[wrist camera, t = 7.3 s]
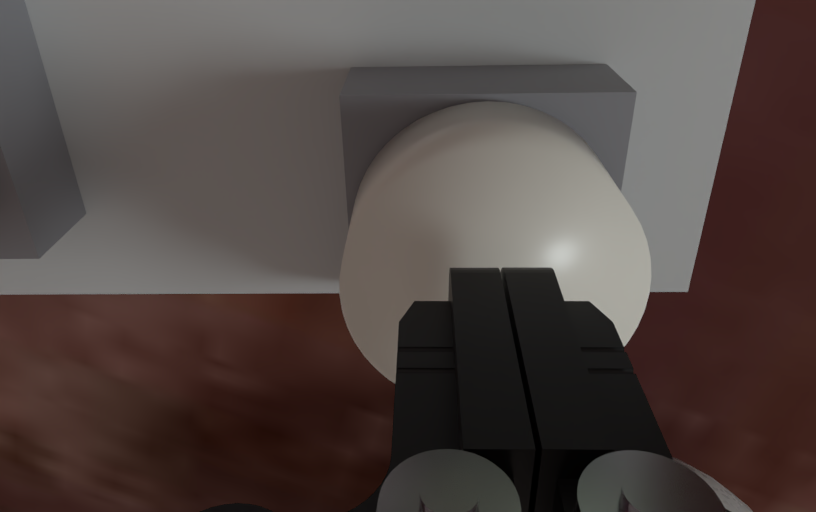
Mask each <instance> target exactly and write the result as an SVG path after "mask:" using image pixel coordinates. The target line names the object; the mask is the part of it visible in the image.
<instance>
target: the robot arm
mask: <svg viewBox="0 0 816 512" xmlns="http://www.w3.org/2000/svg"><path fill="white" fill-rule="evenodd" d="M397 348H398V350H397V364H396V382H395V400H394V418H393V436H392V453H391V461H390V466H389V469H388V472H387V475H386V476H385V478H384V480H383V482H382V483H381V485H380V486H379V487H378V489H377V490H376V491H375V492H374V493H373V494H372V495H371V496H370V497H369V498H368V499H367V500H366V501H364V502H363V503H361V504H360V505H358V506H357V507H355V508H354V509H352V510H350V511H348V512H731V511H729V510H727V509H725V507H724V505H723V504H722V502H721V500H720V499H719V497H718V496H717V494H716V493H715V492H714V490H713V489H712V488H711V487H710V486H709V485H708V484H707V483H706V482H705V481H704V480H703V479H702V478H701V477H700V476H698V475H697V474H696V473H695V472H693V471H692V470H690V469H689V468H687V467H686V466H684V465H682V464H680V463H678V462H676V461H674V460H673V458H672V456H671V454H670V451H669V449H668V447H667V445H666V442H665V440H664V438H663V435H662V433H661V431H660V428H659V426H658V424H657V422H656V419H655V417H654V415H653V412H652V410H651V408H650V406H649V403H648V401H647V399H646V396H645V394H644V392H643V390H642V387H641V385H640V383H639V380H638V378H637V376H636V374H633V367H632V364H631V362H630V360H629V358H628V355H627V353H626V352H624V346H623V344H622V341H621V339H620V337H619V335H618V332H617V330H616V328H615V325H614V323H613V322H612V321H611V320H610V319H609V318H608V317H607V316H605V315H604V314H603V313H602V312H601V311H600V310H599V309H598V308H597V307H595V306H594V305H593V304H592V303H591V302H590V301H564V298H563V295H562V293H561V290H560V287H559V284H558V281H557V278H556V275H555V272H554V270H553V268H551V267H503V268H502V269H501V272H500V270H499V268H450V269H449V293H448V301H414V302H413V304H412V305H411V306H410V308H409V309H408V310H407V312H406V313H405V314H404V316H403V317H402V318H401V320H400V321H399V329H398V347H397ZM200 512H272V511H271V510H268V509H266V508H263V507H261V506H256V505H252V504H240V503H235V504H224V505H220V506H216V507H211V508H209V509H206V510H203V511H200Z"/></svg>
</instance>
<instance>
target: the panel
mask: <svg viewBox="0 0 816 512" xmlns="http://www.w3.org/2000/svg"><path fill="white" fill-rule="evenodd" d="M754 5H755V0H0V294H245V293H339V277H340V271H341V264H342V258H343V254H344V249H345V244H346V240H347V235H348V231H349V226H350V221H351V217H352V212H353V208H354V203H355V199H356V196H357V192H358V189H359V186H360V183H361V181H362V179H363V177H364V175H365V173H366V170H367V169H368V167H369V166H370V164H371V163H372V161H373V160H374V158H375V157H376V155H377V154H378V153H379V152H380V151H381V149H382V148H383V147H384V146H385V145H386V144H387V143H388V142H389V141H390V140H391V139H392V138H393V137H394V136H396V135H397V134H398V133H399V132H400V131H401V130H403V129H404V128H406V127H407V126H409V125H410V124H412V123H413V122H415V121H416V120H418V119H420V118H423V117H425V116H427V115H429V114H431V113H433V112H436V111H438V110H441V109H444V108H447V107H450V106H455V105H460V104H465V103H471V102H484V101H493V102H508V103H513V104H519V105H524V106H527V107H530V108H533V109H536V110H539V111H542V112H544V113H546V114H548V115H550V116H552V117H554V118H557V119H558V120H560V121H561V122H563V123H564V124H566V125H567V126H569V127H570V128H572V129H573V130H574V131H575V132H576V133H577V134H578V135H579V136H580V137H582V138H583V139H584V140H585V141H586V143H587V144H588V145H589V146H590V148H591V149H592V150H593V151H594V152H595V154H596V155H597V157H598V158H599V160H600V161H601V163H602V164H603V166H604V167H605V169H606V170H607V172H608V173H609V175H610V176H611V178H612V179H613V181H614V182H615V184H616V185H617V187H618V188H619V190H620V191H621V193H622V194H623V196H624V197H625V199H626V200H627V202H628V203H629V205H630V206H631V208H632V210H633V211H634V213H635V215H636V217H637V218H638V220H639V222H640V224H641V226H642V229H643V231H644V234H645V236H646V239H647V242H648V247H649V252H650V257H651V284H650V292H688V288H689V284H690V280H691V276H692V271H693V267H694V263H695V258H696V254H697V250H698V245H699V241H700V237H701V233H702V228H703V224H704V220H705V215H706V211H707V207H708V202H709V198H710V194H711V190H712V185H713V181H714V177H715V172H716V168H717V164H718V159H719V155H720V151H721V147H722V142H723V138H724V134H725V129H726V125H727V121H728V116H729V112H730V108H731V104H732V99H733V95H734V91H735V86H736V82H737V78H738V73H739V69H740V65H741V61H742V56H743V52H744V48H745V43H746V39H747V35H748V30H749V26H750V22H751V17H752V13H753V9H754Z"/></svg>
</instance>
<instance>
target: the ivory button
mask: <svg viewBox="0 0 816 512" xmlns="http://www.w3.org/2000/svg"><path fill="white" fill-rule="evenodd" d="M503 267H551V268H553V270H554V272H555V275H556V278H557V281H558V284H559V287H560V290H561V293H562V295H563V298H564V301H590V302H591V303H592V304H593V305H594V306H595V307H597V308H598V309H599V310H600V311H601V312H602V313H603V314H604V315H605V316H607V317H608V318H609V319H610V320H611V321H612V322H613V323H614V325H615V328H616V330H617V332H618V335H619V337H620V339H621V341H622V344H623V346H625V345H626V344H627V343H628V341H629V340H630V338H631V336H632V335H633V333H634V332H635V330H636V328H637V327H638V324H639V322H640V320H641V318H642V315H643V313H644V311H645V307H646V304H647V300H648V297H649V292H650V284H651V257H650V252H649V247H648V242H647V239H646V236H645V234H644V231H643V229H642V226H641V224H640V222H639V220H638V218H637V217H636V215H635V213H634V211H633V210H632V208H631V206H630V205H629V203H628V202H627V200H626V199H625V197H624V196H623V194H622V193H621V191H620V190H619V188H618V187H617V185H616V184H615V182H614V181H613V179H612V178H611V176H610V175H609V173H608V172H607V170H606V169H605V167H604V166H603V164H602V163H601V161H600V160H599V158H598V157H597V155H596V154H595V152H594V151H593V150H592V149H591V148H590V146H589V145H588V144H587V143H586V141H585V140H584V139H583V138H582V137H580V136H579V135H578V134H577V133H576V132H575V131H574V130H573V129H572V128H570V127H569V126H567V125H566V124H564V123H563V122H561V121H560V120H558V119H557V118H554V117H552V116H550V115H548V114H546V113H544V112H542V111H539V110H536V109H533V108H530V107H527V106H524V105H519V104H513V103H508V102H493V101H484V102H471V103H465V104H460V105H455V106H450V107H447V108H444V109H441V110H438V111H436V112H433V113H431V114H429V115H427V116H425V117H423V118H420V119H418V120H416V121H415V122H413V123H412V124H410V125H409V126H407V127H406V128H404V129H403V130H401V131H400V132H399V133H398V134H397V135H396V136H394V137H393V138H392V139H391V140H390V141H389V142H388V143H387V144H386V145H385V146H384V147H383V148H382V149H381V151H380V152H379V153H378V154H377V155H376V157H375V158H374V160H373V161H372V163H371V164H370V166H369V167H368V169H367V170H366V173H365V175H364V177H363V179H362V181H361V183H360V186H359V189H358V192H357V196H356V199H355V203H354V208H353V212H352V217H351V221H350V226H349V231H348V235H347V240H346V244H345V249H344V254H343V258H342V264H341V271H340V277H339V293H340V301H341V307H342V312H343V316H344V319H345V322H346V325H347V328H348V330H349V332H350V334H351V336H352V338H353V340H354V342H355V343H356V345H357V346H358V348H359V349H360V351H361V352H362V354H363V355H364V356H365V358H366V359H367V360H368V361H369V362H370V363H371V364H372V365H373V366H374V367H375V368H376V369H377V370H378V371H379V372H380V373H381V374H383V375H384V376H385V377H386V378H387V379H389V380H390V381H392V382H393V383H395V382H396V364H397V350H398V348H397V347H398V329H399V321H400V320H401V318H402V317H403V316H404V314H405V313H406V312H407V310H408V309H409V308H410V306H411V305H412V304H413V302H414V301H448V293H449V269H450V268H499V270H500V272H501V269H502V268H503Z"/></svg>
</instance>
